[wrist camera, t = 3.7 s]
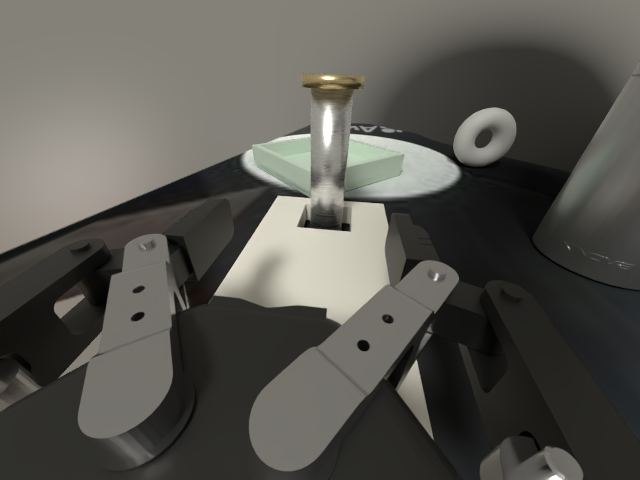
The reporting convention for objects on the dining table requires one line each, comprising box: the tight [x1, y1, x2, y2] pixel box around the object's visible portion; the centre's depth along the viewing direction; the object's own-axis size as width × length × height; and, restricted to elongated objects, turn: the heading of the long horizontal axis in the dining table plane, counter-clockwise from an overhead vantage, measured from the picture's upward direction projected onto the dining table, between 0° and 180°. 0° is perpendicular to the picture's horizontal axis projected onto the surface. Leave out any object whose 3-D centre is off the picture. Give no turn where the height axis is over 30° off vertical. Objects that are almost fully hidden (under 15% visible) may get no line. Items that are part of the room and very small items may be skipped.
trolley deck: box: [214, 196, 434, 440], centre depth 19 cm, size 22×12×2 cm, turn 173°
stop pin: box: [302, 74, 364, 231], centre depth 22 cm, size 5×5×14 cm
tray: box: [252, 137, 404, 197], centre depth 42 cm, size 18×18×4 cm
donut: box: [453, 108, 516, 167], centre depth 44 cm, size 10×4×10 cm, turn 86°
